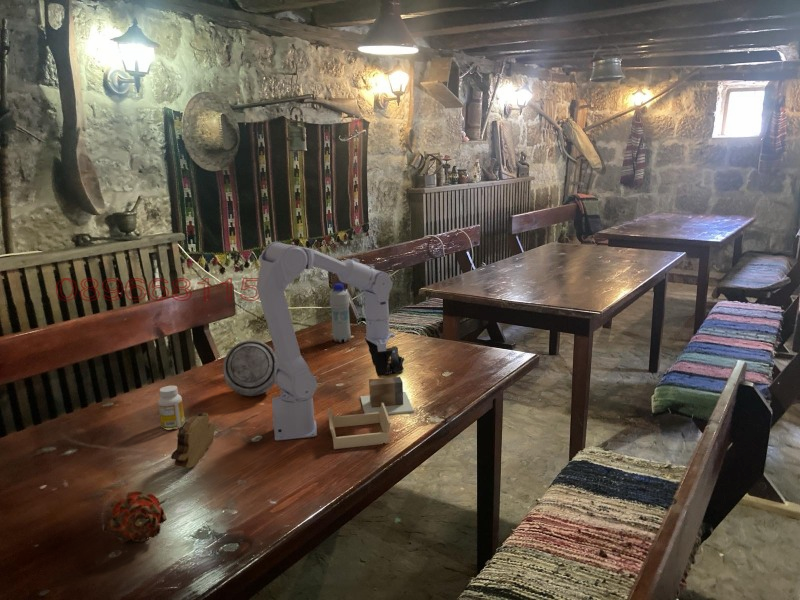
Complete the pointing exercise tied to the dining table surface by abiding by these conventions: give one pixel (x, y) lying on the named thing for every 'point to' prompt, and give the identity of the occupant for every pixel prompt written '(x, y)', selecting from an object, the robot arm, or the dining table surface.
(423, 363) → the dining table surface
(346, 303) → the bottle
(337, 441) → the wooden box
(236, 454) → the dining table surface
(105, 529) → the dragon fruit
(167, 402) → the supplement bottle
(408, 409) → the mat
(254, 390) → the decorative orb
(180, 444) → the wooden carving
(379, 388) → the block
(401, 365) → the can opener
